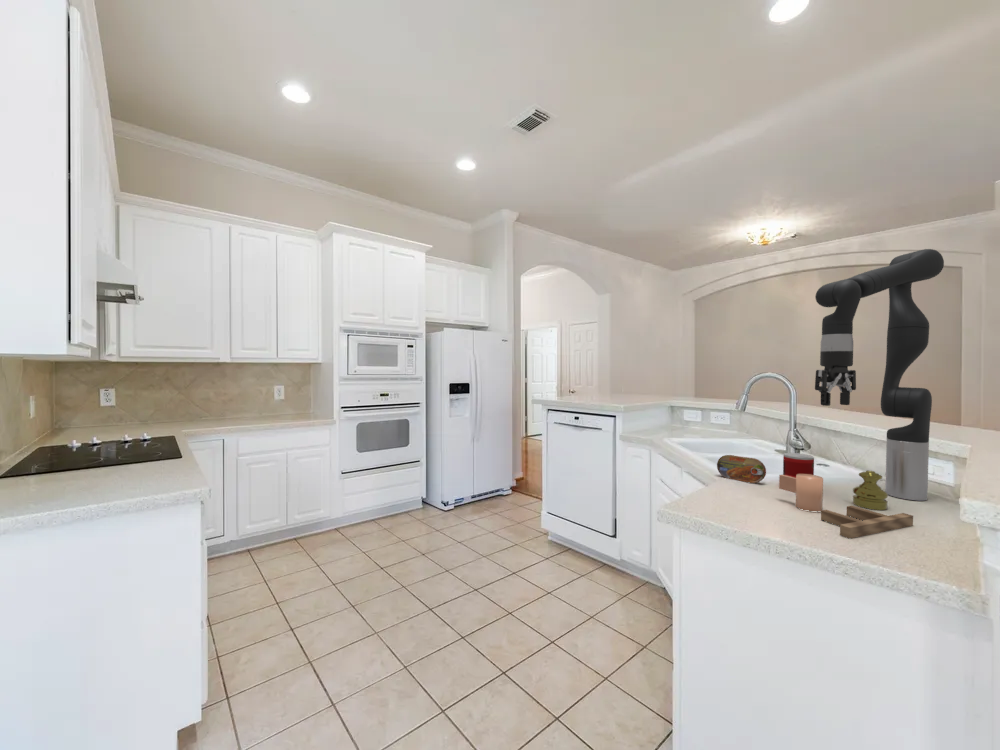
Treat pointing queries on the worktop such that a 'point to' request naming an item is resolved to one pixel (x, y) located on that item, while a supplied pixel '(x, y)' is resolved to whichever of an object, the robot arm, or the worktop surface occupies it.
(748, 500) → the worktop surface
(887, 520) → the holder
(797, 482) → the tan paddle shape
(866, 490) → the brass doorknob
